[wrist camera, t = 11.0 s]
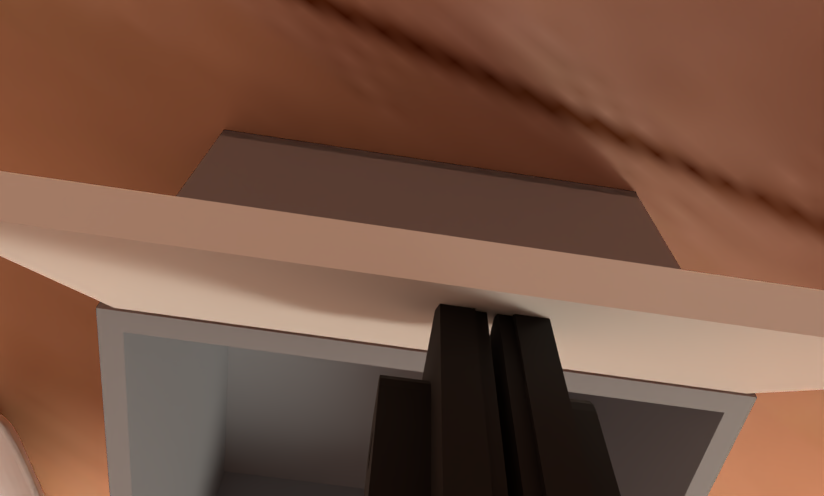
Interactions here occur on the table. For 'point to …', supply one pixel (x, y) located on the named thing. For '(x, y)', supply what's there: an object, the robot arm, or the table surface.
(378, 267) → the flap
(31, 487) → the salad plate
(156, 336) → the carton
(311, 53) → the table surface
